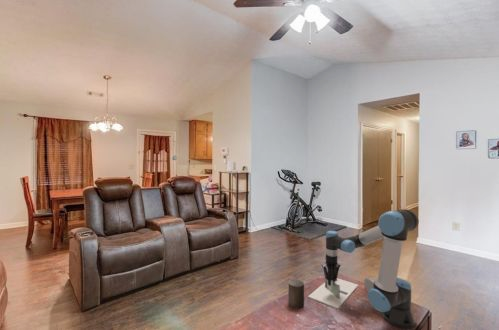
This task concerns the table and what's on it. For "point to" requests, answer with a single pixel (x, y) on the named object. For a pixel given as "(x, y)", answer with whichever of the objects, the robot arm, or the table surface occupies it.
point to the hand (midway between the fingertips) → (330, 289)
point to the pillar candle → (296, 294)
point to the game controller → (368, 283)
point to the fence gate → (335, 289)
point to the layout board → (329, 297)
